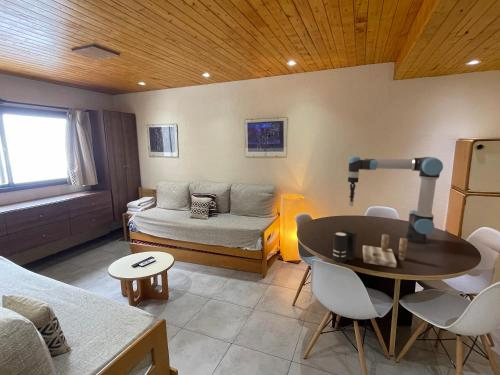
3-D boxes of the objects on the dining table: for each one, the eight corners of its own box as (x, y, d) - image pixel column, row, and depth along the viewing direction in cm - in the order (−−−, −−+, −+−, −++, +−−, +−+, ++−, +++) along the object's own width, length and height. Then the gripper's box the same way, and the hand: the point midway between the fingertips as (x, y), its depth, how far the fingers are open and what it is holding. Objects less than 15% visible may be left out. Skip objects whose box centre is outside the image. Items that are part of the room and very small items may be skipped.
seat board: (391, 253, 173) (393, 233, 171) (396, 267, 153) (398, 245, 151) (362, 249, 180) (364, 230, 178) (363, 262, 160) (365, 241, 158)
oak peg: (404, 258, 165) (406, 238, 163) (405, 261, 161) (408, 240, 159) (397, 257, 167) (399, 237, 164) (398, 260, 163) (400, 239, 161)
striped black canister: (328, 258, 165) (330, 232, 162) (342, 253, 172) (343, 228, 169) (341, 264, 157) (343, 237, 154) (355, 259, 164) (356, 233, 161)
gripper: (348, 175, 208) (347, 200, 212) (347, 178, 185) (345, 206, 189) (358, 175, 205) (356, 200, 209) (358, 179, 182) (356, 207, 186)
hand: (351, 203), depth 199 cm, fingers open, 13 cm apart
